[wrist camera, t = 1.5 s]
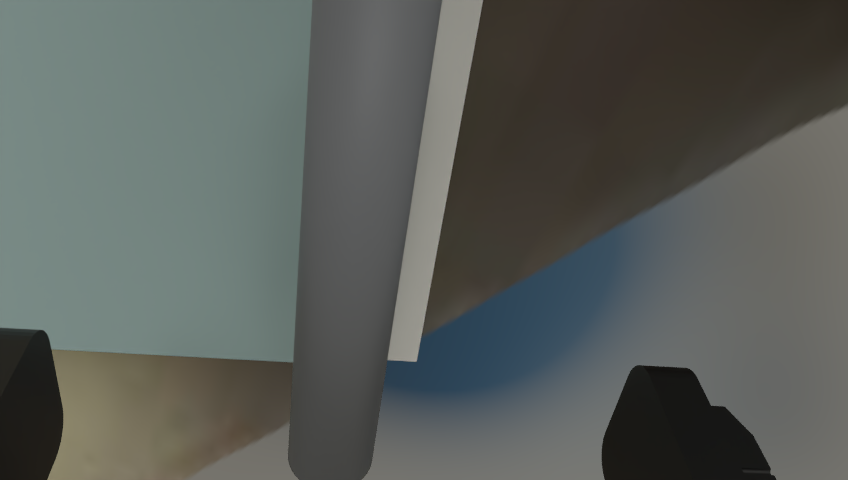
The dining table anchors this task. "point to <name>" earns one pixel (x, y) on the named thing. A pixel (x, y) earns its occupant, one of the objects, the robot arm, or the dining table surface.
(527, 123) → the dining table surface
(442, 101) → the cabinet
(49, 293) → the door
